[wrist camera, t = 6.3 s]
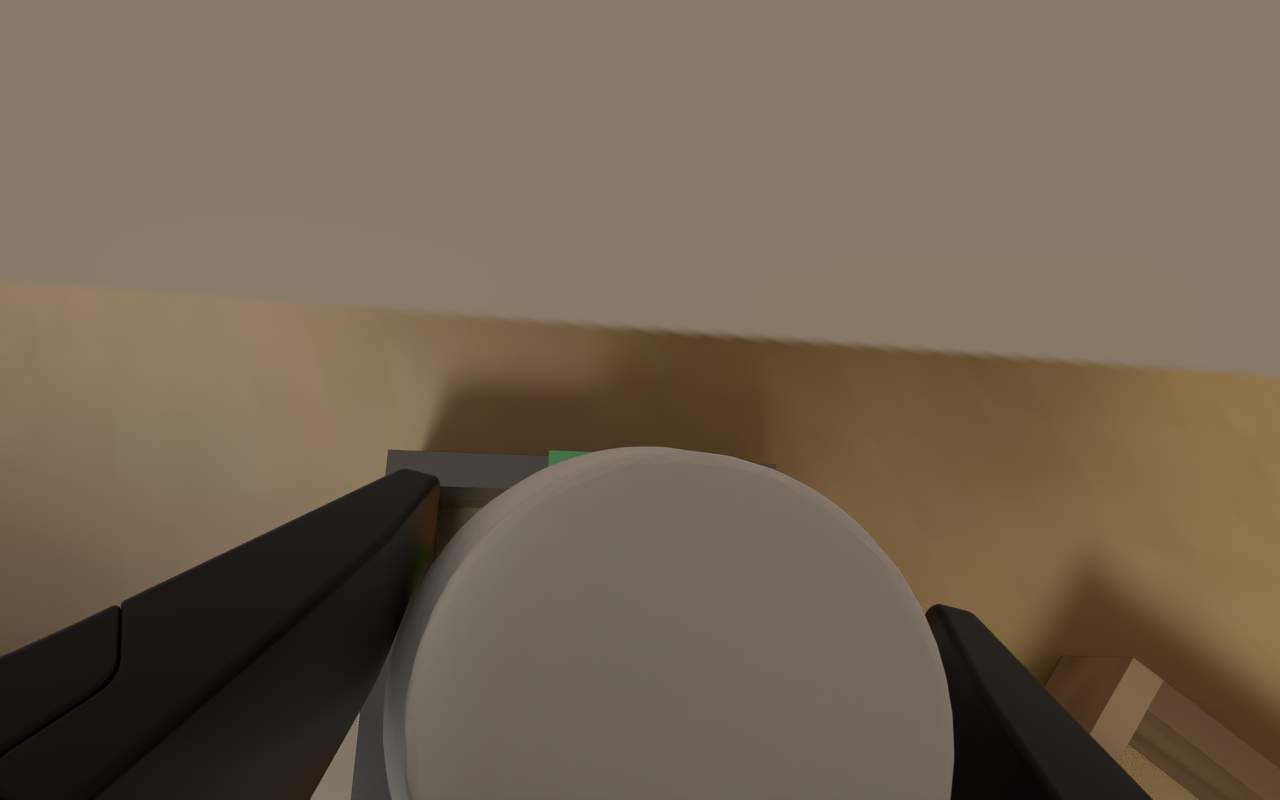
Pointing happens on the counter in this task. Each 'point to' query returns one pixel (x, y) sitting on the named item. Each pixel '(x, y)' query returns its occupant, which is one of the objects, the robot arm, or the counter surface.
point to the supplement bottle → (665, 646)
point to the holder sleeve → (1161, 728)
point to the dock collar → (460, 486)
